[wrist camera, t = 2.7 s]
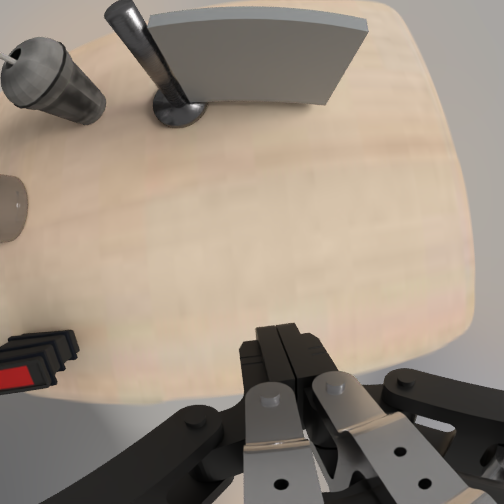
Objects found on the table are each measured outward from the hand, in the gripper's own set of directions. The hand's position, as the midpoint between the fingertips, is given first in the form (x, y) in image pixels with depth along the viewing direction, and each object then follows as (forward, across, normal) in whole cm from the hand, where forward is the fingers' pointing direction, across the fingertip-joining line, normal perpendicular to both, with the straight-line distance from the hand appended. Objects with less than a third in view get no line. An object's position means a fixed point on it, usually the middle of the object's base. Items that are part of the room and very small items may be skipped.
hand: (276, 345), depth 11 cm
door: (+20, +3, +16) cm, 26 cm away
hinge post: (+23, -5, +16) cm, 28 cm away
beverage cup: (+24, -17, +18) cm, 35 cm away
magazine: (+22, -26, -11) cm, 36 cm away
